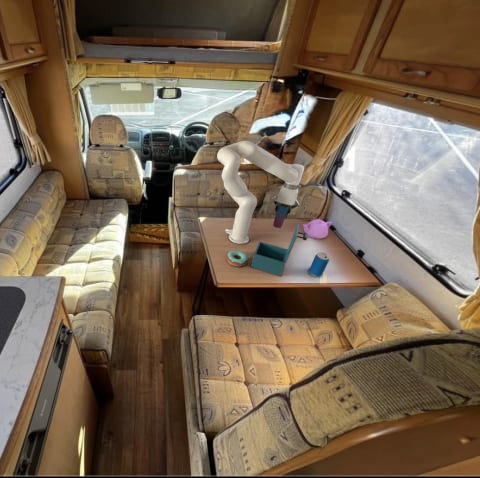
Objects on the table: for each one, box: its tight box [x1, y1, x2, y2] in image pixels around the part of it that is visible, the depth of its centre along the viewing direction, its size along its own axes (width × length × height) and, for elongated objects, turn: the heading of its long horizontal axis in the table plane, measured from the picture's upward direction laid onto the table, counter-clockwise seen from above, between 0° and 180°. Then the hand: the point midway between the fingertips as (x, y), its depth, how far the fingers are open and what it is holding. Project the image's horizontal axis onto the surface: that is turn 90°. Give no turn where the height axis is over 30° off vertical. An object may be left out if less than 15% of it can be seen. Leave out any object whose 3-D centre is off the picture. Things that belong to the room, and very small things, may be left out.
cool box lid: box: [285, 223, 308, 264], centre depth 132 cm, size 16×14×6 cm
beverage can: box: [308, 252, 330, 277], centre depth 137 cm, size 6×6×12 cm
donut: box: [226, 250, 249, 268], centre depth 147 cm, size 12×12×4 cm
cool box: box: [250, 241, 288, 277], centre depth 144 cm, size 16×14×9 cm
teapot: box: [302, 218, 333, 240], centre depth 169 cm, size 14×20×11 cm
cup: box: [272, 203, 289, 229], centre depth 164 cm, size 7×7×15 cm
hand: (281, 212), depth 162 cm, fingers closed on cup, 6 cm apart
